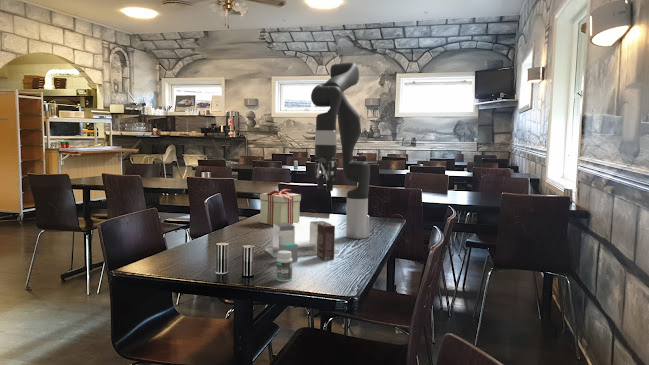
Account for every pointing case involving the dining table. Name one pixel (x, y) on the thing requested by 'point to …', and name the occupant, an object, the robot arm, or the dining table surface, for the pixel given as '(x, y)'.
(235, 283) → the dining table surface
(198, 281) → the dining table surface
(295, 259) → the block
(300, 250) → the rail panel
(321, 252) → the box
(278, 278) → the pill bottle
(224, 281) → the dining table surface
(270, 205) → the gift box
